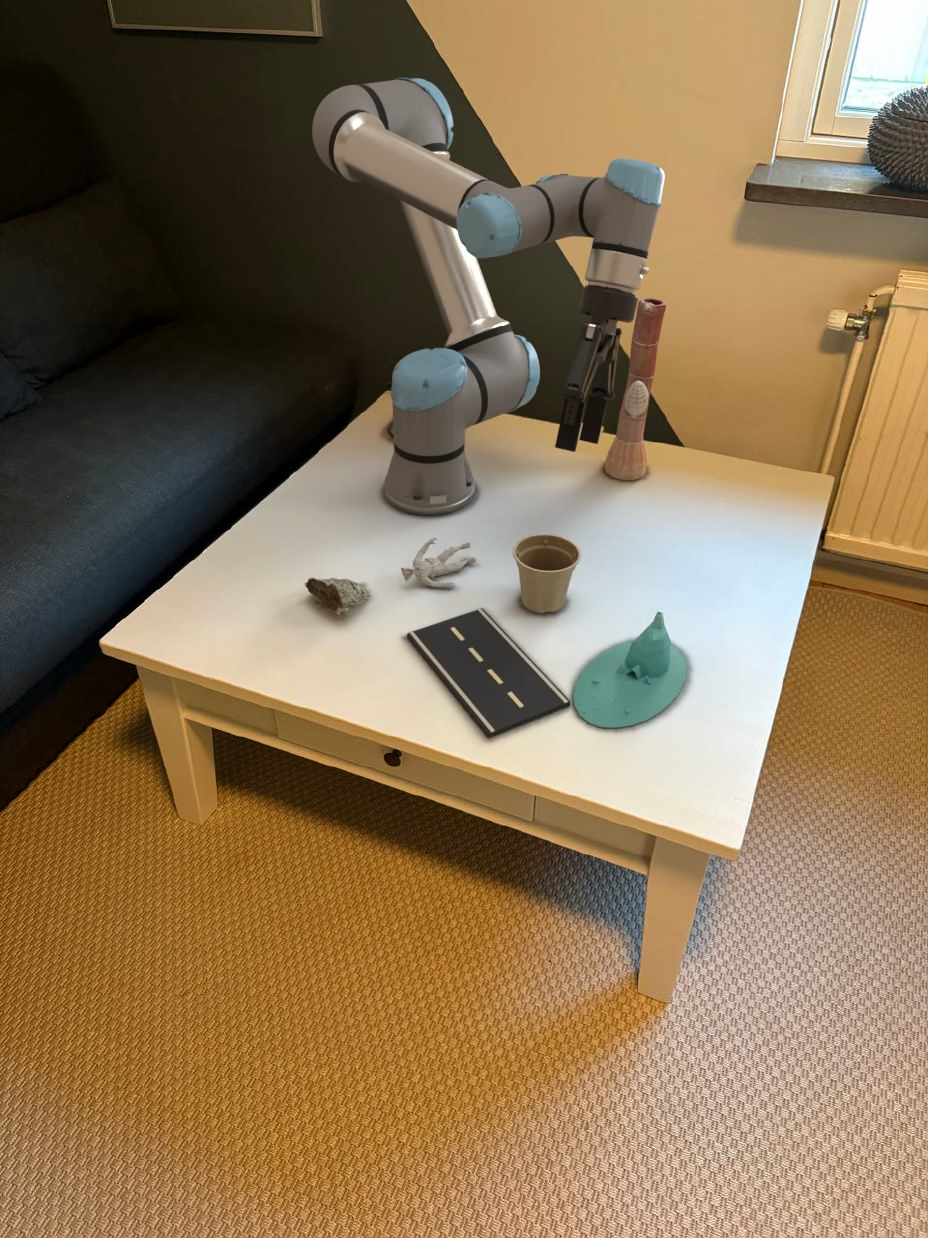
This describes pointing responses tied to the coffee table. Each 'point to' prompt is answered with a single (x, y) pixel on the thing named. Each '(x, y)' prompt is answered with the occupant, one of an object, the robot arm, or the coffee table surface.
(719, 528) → the coffee table surface
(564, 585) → the flower pot
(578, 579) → the coffee table surface
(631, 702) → the diorama
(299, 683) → the coffee table surface
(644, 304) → the vase
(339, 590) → the rock sample
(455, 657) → the road
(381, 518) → the coffee table surface
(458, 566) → the soldier figure
